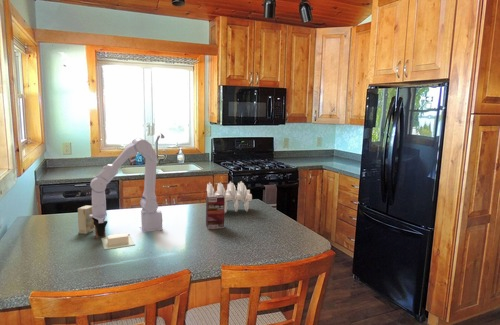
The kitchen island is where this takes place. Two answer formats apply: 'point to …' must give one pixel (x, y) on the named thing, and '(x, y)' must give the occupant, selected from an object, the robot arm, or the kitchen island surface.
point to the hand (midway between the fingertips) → (100, 234)
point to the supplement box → (215, 211)
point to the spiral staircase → (232, 194)
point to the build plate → (106, 246)
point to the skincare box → (85, 220)
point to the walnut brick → (97, 233)
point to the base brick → (117, 239)
